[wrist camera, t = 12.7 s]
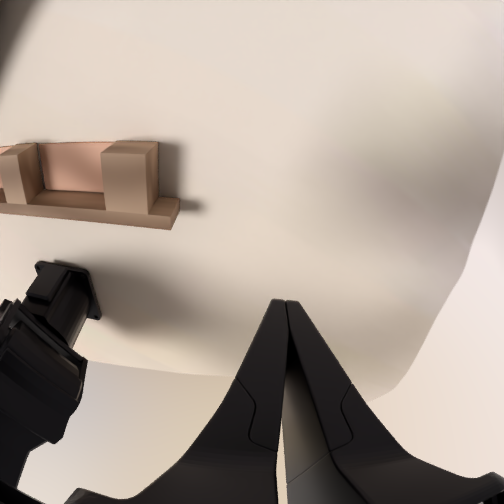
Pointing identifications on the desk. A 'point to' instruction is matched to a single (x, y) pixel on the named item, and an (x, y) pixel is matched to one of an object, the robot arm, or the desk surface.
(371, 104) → the desk surface
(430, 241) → the desk surface
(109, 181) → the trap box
